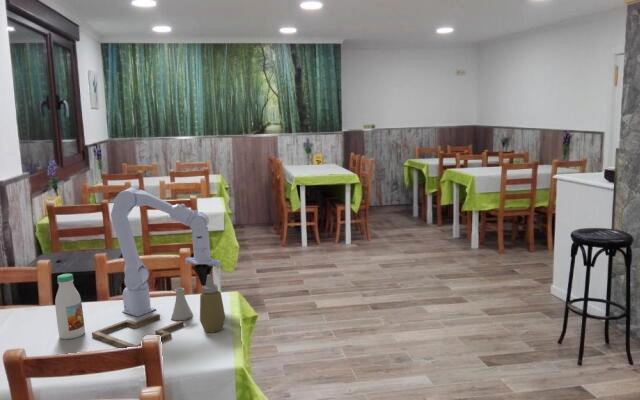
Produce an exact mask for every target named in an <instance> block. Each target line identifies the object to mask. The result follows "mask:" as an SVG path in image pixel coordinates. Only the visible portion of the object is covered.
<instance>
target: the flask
mask: <svg viewBox="0 0 640 400" xmlns="http://www.w3.org/2000/svg"><path fill="white" fill-rule="evenodd" d="M174 289H175V290H174V292H175V295H176V296H175V304H174V307H173V311H172V314H171V318H170V319H171V320H173V321H186V320H188V319H191V318H192V317H193V314H194V313H193V312H192V311H193V310H191V307H190V306H189V303H188V302H187V299H186V297H185V288H183V287H177V288H174Z"/></svg>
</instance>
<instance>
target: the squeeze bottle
mask: <svg viewBox="0 0 640 400" xmlns="http://www.w3.org/2000/svg"><path fill="white" fill-rule="evenodd" d="M218 288H219V287H218V285H217V284H214V281H213V277H212V275H211V274H210V275H207V281H206V285H205V286H203V285H202V293H201V294H200V298H199V300H200V301H199V322H200V324H201V326H202V329H203V330H204V332H206V333H217V332H219V331H222V329H223V328H224V324H225V320H226V313H225V307H224V304H223V298H222V292H220V291H219V289H218Z"/></svg>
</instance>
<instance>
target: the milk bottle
mask: <svg viewBox="0 0 640 400" xmlns="http://www.w3.org/2000/svg"><path fill="white" fill-rule="evenodd" d="M73 275H74V274H73V273H63V274H60V275H57V279H56V280H57V284H58V289H57V292H56V296H55V302H54V303H55V304H54V307H55V315H56V323H57V330H58V337H59V338H60V339H62V340H72V339H76V338H79V337H81V336H83V335H84V334H85V333H86V329H85V320H84V312H83V304H82V299H81V295H80V293H79V291H78V290H77V288H76V287H75V285H74V276H73Z"/></svg>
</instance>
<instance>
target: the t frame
mask: <svg viewBox="0 0 640 400" xmlns="http://www.w3.org/2000/svg"><path fill="white" fill-rule="evenodd" d="M160 319H161V315H160V314H159V313H155V314H153V315H151V316H148V317H145V318H142V319H139V320H137V321H134V320H130V319H125V320H122V321H119V322H118V323H114V324H112V325H108V326H107V327H103V328H101V329H98V330H96V331H92V332H91V337H92V338H93V339H97V340H99V341H101V342H105V343H108V344H110V345H113V346H115V347H118V348H120V349H123V348H127V347H138V346H141V343H139V344H137V345H136V344H134V343H131V342H128V341H125V340H123V339H119V338H117V337H114V336H111V335H109V334H110V333H112V332H114V331H119V330H120V329H122V328H125V327H129V328H131V329H138V328H140V327H143V326H145V325H148V324H151V323H153V322H156V321H158V320H160ZM184 326H185V323H184V320H177V322H174V323H172V324H168V325H167V326H164V327H162V328H159V329H156V330H154V332H155V336H156V335H160V336H161V342H160V343H162V342H165V341H167V340H170V339H171V338H172V332H173V331H175V330H177V329H180V328H182V327H184Z"/></svg>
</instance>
